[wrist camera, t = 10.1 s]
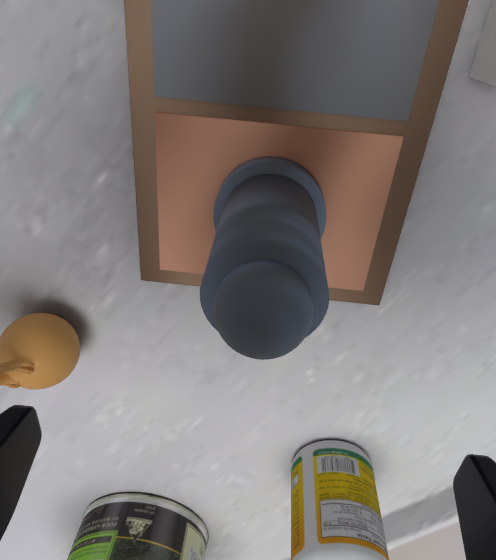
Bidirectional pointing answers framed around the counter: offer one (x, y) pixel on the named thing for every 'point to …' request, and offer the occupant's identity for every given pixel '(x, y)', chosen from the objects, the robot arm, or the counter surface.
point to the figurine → (38, 351)
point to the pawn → (266, 258)
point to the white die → (486, 51)
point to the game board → (284, 119)
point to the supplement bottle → (335, 505)
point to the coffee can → (139, 530)
